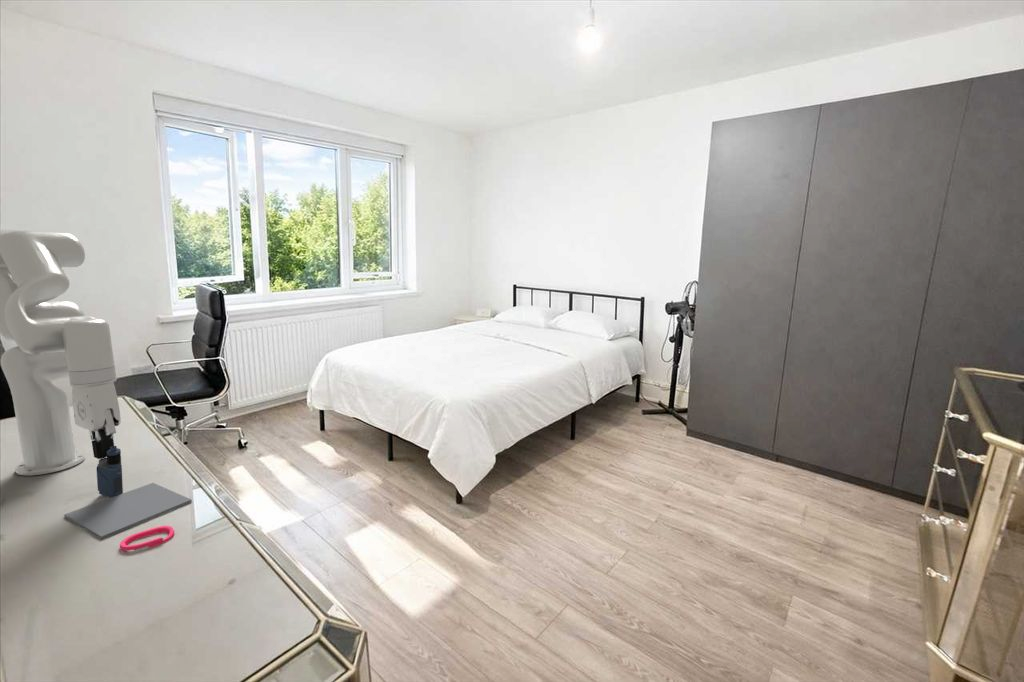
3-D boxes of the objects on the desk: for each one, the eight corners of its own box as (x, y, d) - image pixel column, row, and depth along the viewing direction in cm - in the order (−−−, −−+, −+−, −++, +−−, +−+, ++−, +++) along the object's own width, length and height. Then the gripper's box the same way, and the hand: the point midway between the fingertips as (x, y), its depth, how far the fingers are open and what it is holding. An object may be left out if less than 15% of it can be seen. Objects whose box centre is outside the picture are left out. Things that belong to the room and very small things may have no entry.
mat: (64, 517, 95) (64, 514, 95) (153, 485, 109) (152, 482, 109) (101, 539, 88) (101, 536, 88) (191, 502, 102) (191, 499, 102)
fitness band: (121, 558, 83) (120, 550, 83) (120, 543, 87) (119, 536, 87) (176, 541, 88) (175, 534, 88) (172, 528, 92) (172, 521, 92)
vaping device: (114, 499, 103) (112, 450, 100) (95, 493, 103) (92, 445, 101) (126, 493, 105) (124, 445, 102) (107, 487, 106) (104, 440, 103)
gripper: (55, 376, 100) (68, 456, 103) (87, 384, 93) (99, 469, 96) (98, 369, 107) (109, 444, 110) (131, 376, 100) (141, 456, 103)
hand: (104, 456), depth 103 cm, fingers closed
